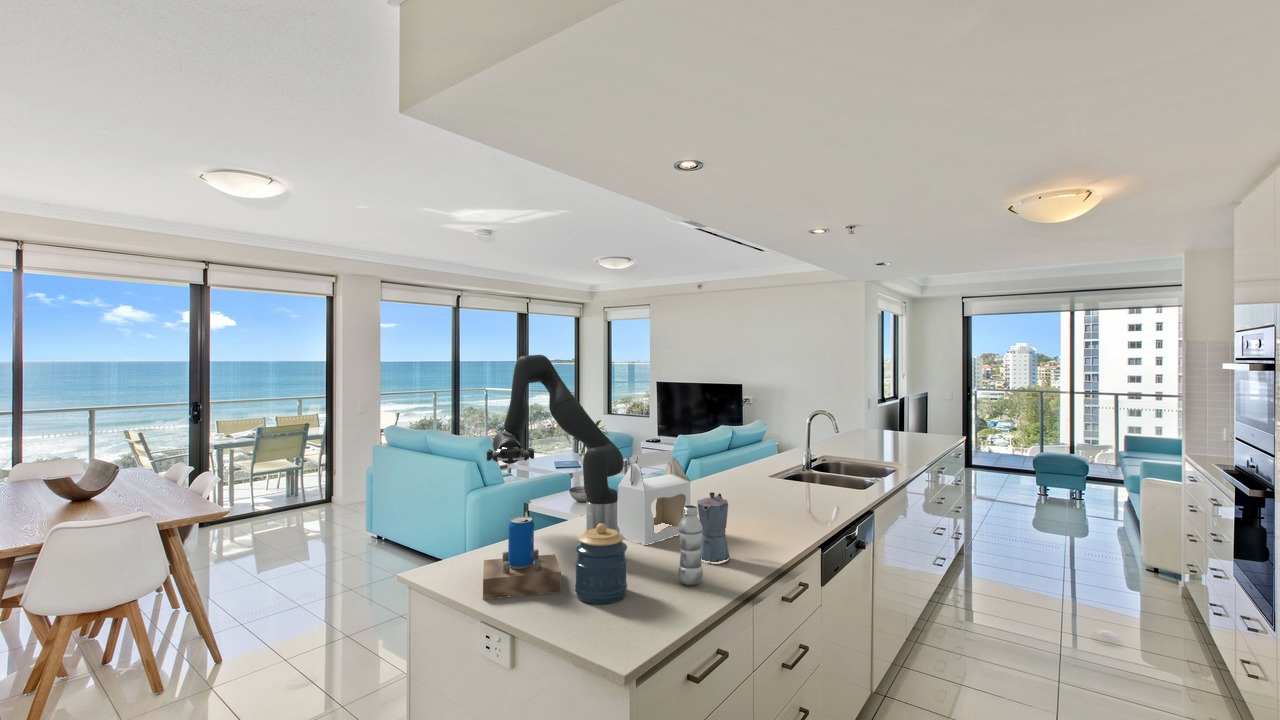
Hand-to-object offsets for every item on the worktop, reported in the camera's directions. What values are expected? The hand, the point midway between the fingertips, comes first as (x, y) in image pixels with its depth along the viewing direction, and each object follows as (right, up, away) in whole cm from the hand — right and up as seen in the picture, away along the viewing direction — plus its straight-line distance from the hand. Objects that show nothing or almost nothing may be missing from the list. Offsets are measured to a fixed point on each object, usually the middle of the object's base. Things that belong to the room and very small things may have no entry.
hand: (511, 457), depth 167 cm
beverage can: (+7, -25, -21) cm, 33 cm away
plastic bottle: (+52, -30, -20) cm, 63 cm away
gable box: (+43, -30, +23) cm, 58 cm away
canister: (+29, -30, -27) cm, 49 cm away
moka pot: (+60, -30, -1) cm, 67 cm away
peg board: (+8, -29, -21) cm, 37 cm away
